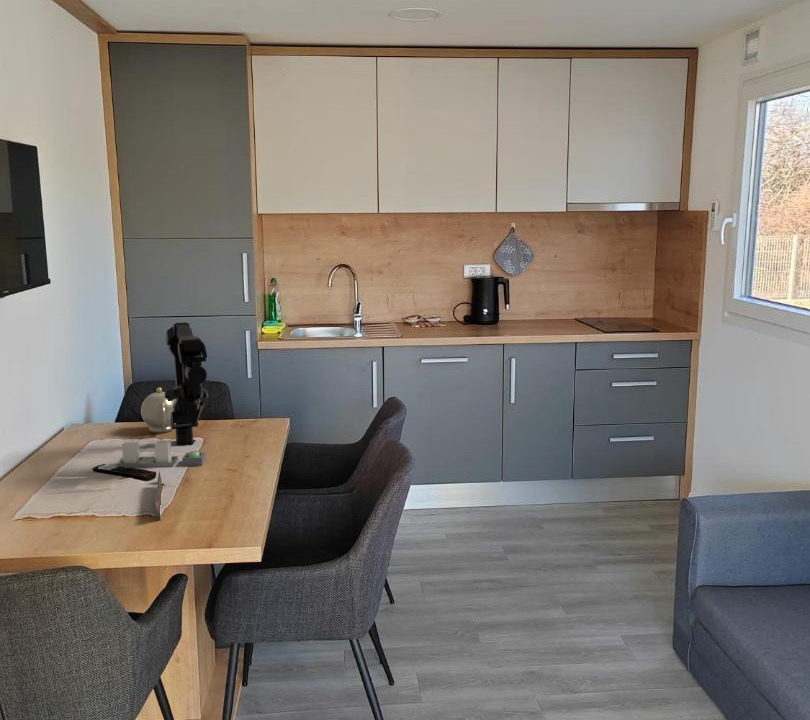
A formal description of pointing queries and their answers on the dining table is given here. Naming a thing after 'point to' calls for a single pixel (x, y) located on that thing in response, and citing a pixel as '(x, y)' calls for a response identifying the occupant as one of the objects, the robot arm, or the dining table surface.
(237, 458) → the dining table surface
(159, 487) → the incense holder
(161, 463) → the tray
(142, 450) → the blue-grey square tray
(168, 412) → the teapot
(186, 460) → the grey square tube
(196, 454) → the button
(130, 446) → the block
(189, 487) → the dining table surface
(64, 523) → the dining table surface
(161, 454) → the seated billet
